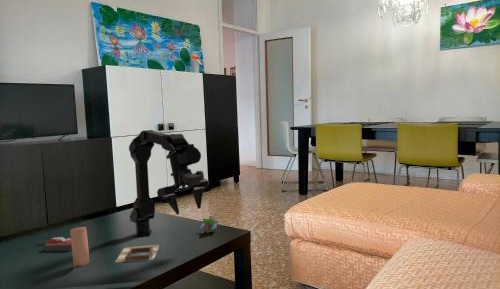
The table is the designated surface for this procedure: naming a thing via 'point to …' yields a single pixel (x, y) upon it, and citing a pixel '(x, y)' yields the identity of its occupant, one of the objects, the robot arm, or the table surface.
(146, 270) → the table surface
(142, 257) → the walnut socket
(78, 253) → the terracotta column
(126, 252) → the tan flat square frame
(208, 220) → the geometric puzzle
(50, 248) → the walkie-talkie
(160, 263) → the table surface
